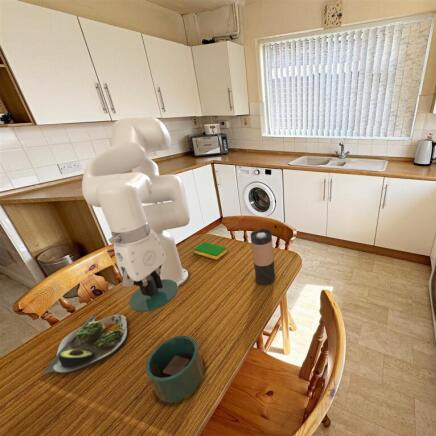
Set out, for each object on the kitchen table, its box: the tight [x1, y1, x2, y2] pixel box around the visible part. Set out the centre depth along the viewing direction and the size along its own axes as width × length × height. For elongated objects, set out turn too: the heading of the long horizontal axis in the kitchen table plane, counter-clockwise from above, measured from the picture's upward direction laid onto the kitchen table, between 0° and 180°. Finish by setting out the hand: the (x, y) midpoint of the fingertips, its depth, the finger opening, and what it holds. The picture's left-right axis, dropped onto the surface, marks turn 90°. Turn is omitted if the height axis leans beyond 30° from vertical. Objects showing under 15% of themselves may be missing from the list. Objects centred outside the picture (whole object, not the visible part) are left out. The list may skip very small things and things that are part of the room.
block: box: [162, 355, 191, 378], centre depth 58 cm, size 4×4×4 cm
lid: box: [128, 274, 179, 313], centre depth 65 cm, size 12×12×7 cm
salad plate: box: [43, 314, 129, 375], centre depth 69 cm, size 19×18×5 cm
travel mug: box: [250, 228, 276, 285], centre depth 89 cm, size 8×8×20 cm
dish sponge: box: [193, 241, 228, 261], centre depth 111 cm, size 7×14×2 cm, turn 64°
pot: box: [145, 335, 205, 404], centre depth 57 cm, size 11×11×8 cm
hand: (153, 290), depth 65 cm, fingers closed on lid, 2 cm apart
